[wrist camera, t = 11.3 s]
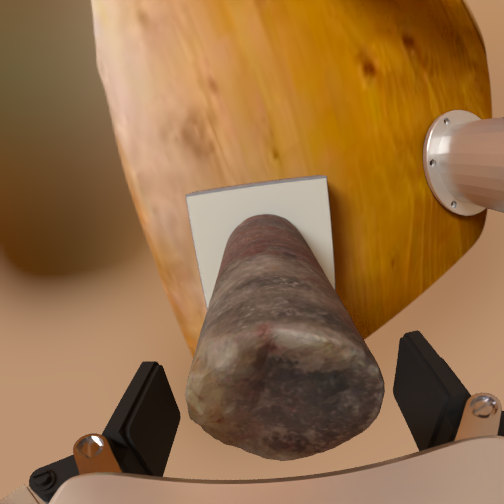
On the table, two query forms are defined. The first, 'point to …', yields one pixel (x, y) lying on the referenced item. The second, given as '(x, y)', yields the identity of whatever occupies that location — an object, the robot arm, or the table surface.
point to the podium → (257, 203)
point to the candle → (280, 351)
